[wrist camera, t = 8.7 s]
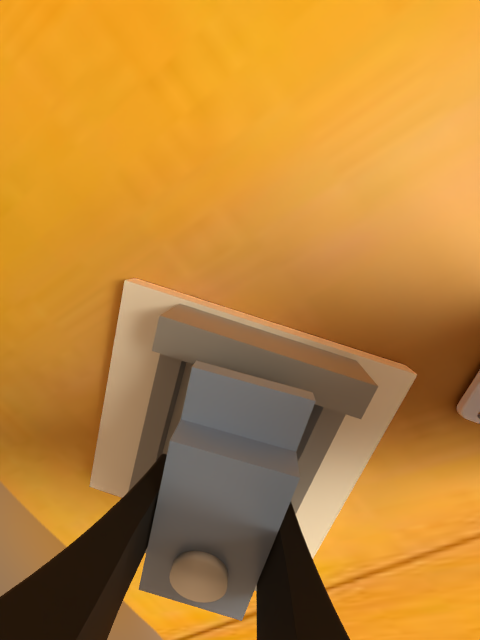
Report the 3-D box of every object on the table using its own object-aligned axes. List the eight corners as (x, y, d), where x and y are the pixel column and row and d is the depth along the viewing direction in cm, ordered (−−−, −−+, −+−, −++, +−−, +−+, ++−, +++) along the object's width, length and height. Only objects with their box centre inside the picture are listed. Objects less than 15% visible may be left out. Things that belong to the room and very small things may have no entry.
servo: (302, 361, 11) (325, 429, 7) (239, 539, 14) (228, 663, 10) (211, 336, 11) (178, 388, 7) (169, 518, 14) (128, 632, 10)
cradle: (405, 365, 12) (454, 404, 9) (308, 543, 16) (318, 616, 13) (135, 277, 12) (90, 286, 9) (100, 472, 16) (59, 526, 13)
